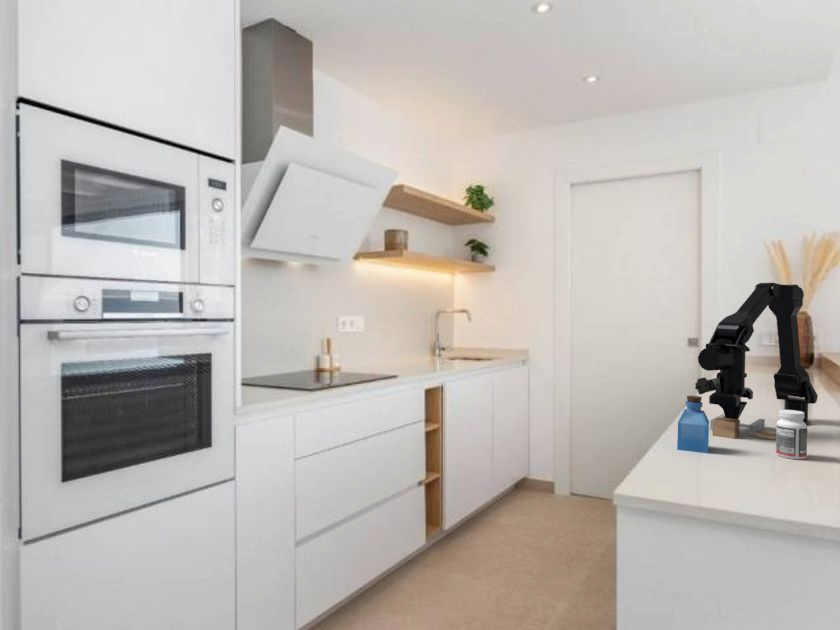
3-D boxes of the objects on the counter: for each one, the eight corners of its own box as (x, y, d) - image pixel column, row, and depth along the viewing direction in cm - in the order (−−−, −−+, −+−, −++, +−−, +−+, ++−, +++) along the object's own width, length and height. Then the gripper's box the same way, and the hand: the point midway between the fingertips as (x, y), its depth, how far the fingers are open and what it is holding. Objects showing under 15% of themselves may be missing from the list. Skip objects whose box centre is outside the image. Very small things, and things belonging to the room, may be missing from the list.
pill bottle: (797, 453, 130) (798, 409, 130) (812, 460, 125) (813, 414, 124) (770, 452, 131) (771, 408, 131) (783, 459, 125) (785, 413, 125)
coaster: (754, 431, 154) (754, 428, 154) (789, 436, 148) (789, 433, 148) (747, 435, 148) (747, 433, 148) (783, 441, 142) (783, 438, 142)
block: (718, 432, 151) (718, 417, 151) (739, 435, 148) (740, 419, 148) (712, 435, 148) (713, 419, 148) (734, 438, 144) (734, 422, 144)
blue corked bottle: (677, 449, 132) (678, 397, 132) (679, 444, 138) (680, 393, 138) (707, 453, 130) (708, 399, 129) (708, 447, 135) (709, 396, 135)
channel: (722, 422, 164) (722, 413, 164) (764, 428, 157) (764, 419, 157) (710, 429, 155) (710, 419, 155) (754, 435, 148) (754, 425, 148)
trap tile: (730, 423, 164) (730, 422, 164) (758, 426, 159) (758, 425, 159) (727, 424, 162) (727, 423, 162) (755, 428, 157) (755, 427, 157)
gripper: (709, 364, 163) (707, 419, 163) (688, 369, 149) (686, 429, 149) (754, 367, 156) (752, 425, 156) (736, 373, 142) (734, 436, 142)
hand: (730, 428), depth 151 cm, fingers closed
